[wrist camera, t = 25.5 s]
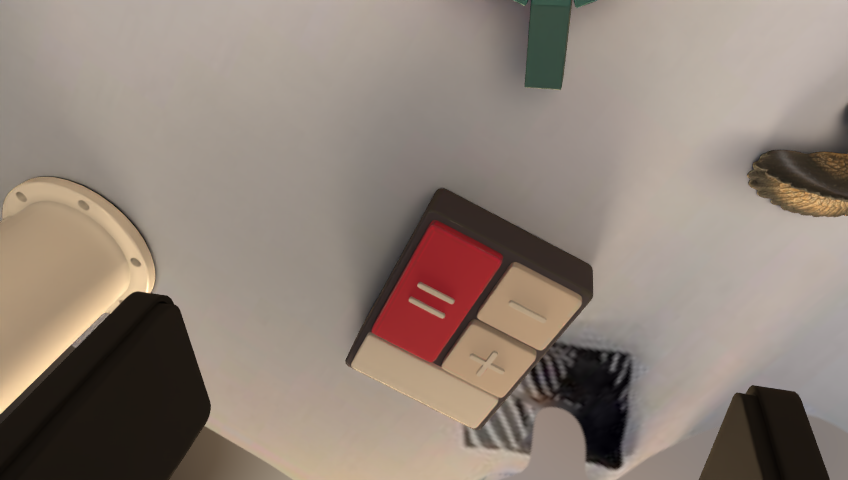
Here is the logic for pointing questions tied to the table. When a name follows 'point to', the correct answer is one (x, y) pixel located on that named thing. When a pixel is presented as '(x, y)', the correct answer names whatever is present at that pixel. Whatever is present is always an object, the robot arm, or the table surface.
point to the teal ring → (548, 41)
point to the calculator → (468, 310)
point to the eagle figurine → (803, 181)
